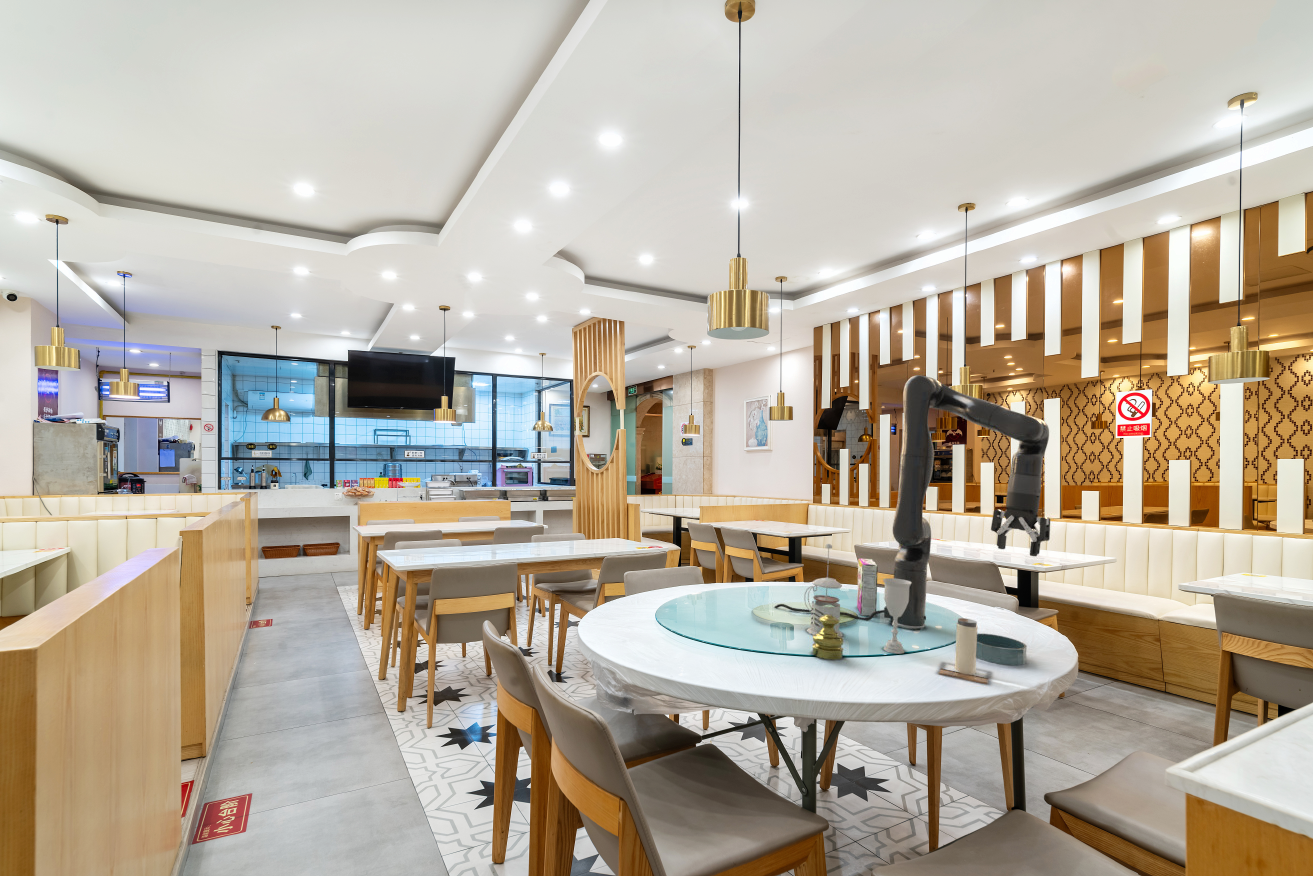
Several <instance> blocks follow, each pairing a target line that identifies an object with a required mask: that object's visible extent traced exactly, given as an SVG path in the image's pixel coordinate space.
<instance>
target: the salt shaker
mask: <svg viewBox="0 0 1313 876" xmlns="http://www.w3.org/2000/svg"><path fill="white" fill-rule="evenodd" d="M819 621H820V622H821V623H822V625H823V628H822V629H821V630H820V631H819V633H816V634H814V635H812V641H813V644H812V645H811V646H812V652H811V653H812V655H814V656H815V657H817V658H819V659H821V660H822V659H823V660H829V661H830V660H831V661H837V660H840V659H843V656H844V648H843V647H842V646H843V645H844V642H845V641H844V639H843V636H842V637H840V636H839V635H838V633H837V632H836V631H835V630H834V627H835V626H836V625H837V624H838V623H839V624H840V620H838V619H837V618H836V617H833V615H830V614H824V615H823V616H822V617H820V618H819Z"/></svg>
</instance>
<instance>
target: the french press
mask: <svg viewBox="0 0 1313 876" xmlns="http://www.w3.org/2000/svg"><path fill="white" fill-rule="evenodd" d="M825 548H826V549H827V563H829V560H830V559H829V558H830V549H832V548H833V545H832V544H831V543H826V544H825ZM826 569H827V571H826V577H821V578H816V579H814V580H813V581H812V584H813V585H811V586H809V587H808V588H806V590H805V592H804V600H803V601H804V604H805V608H806V609H807V610H809V611H811V610H812V611H811V612H810V613H811V616H810V617H811V618H810V627H808V628H807V630H806V632H807V633H808V634H810V635H812V636H814V634H816V633H819V631H820V630H821V629H822V628H823V625H822V623H821V622H820V621H819V618H820V617H822V616H825V615H826V614H830V615H833V617H836V618H837V619H838V620H839V621H840V618H841V615H840V612H841V604H840V603H838V602H840V599H839V597H837V596H832V595H828V589H835V590H837V589H841V588H843V584H841V583H840V582H839V581H837V580H835V579H833V578H830V577H829V566H827V568H826ZM818 587H819V588H824V589H825V590H826V592H825V595H824V594H816V595H813V596H812V598H813V599H814V600H813V601H811V603H810V598H809V597H810V591H811V590H812V591H813V592H816V591H818ZM806 594H807V602H806ZM807 603H808V605H807ZM808 606H809V607H808ZM834 630H835V631H836V632H837V633H838V635H839V636H840V637H842V638H843V636H844V635H843V633H842V632H841V631H840V622H839V623H838V624H837V625H836V626H835V627H834Z"/></svg>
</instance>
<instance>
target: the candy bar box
mask: <svg viewBox="0 0 1313 876" xmlns="http://www.w3.org/2000/svg"><path fill="white" fill-rule="evenodd" d="M857 564H858V565H857V593H856V594H857V595H856V608H857V611H858V613H859V614H860V616H864V617H870V616H871V614H872V613H873V612H876V611H877V602H878V601H877V600H878V599H877V598H878V597H877V596H878V594H877V593H878V567H879V565H878V564H877V563H876V562H875V560H874V559H871V558H858V563H857ZM876 617H877V614H876V615H874V616H873V618H876Z"/></svg>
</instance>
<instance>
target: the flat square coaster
mask: <svg viewBox="0 0 1313 876" xmlns="http://www.w3.org/2000/svg"><path fill="white" fill-rule="evenodd" d="M938 675H940V676H946V677H950V678H955V679H959V680H965V681H970V682H975V683H978V684H984V685H988V682H989V678H988V677H984V676H980V675H975V674H970V675H967V674H962V673H959V672H958V671H956V670H951V669H946V668H940V669H939V671H938Z"/></svg>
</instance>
